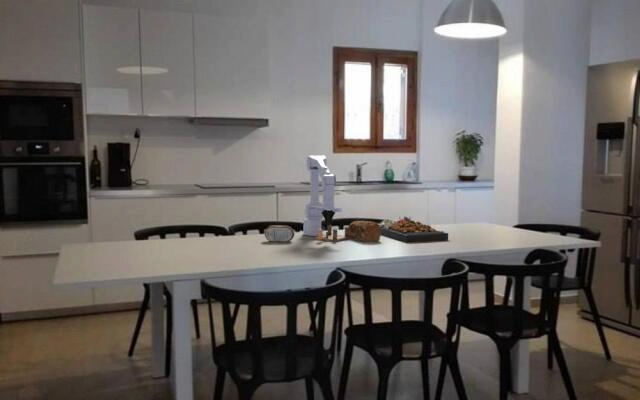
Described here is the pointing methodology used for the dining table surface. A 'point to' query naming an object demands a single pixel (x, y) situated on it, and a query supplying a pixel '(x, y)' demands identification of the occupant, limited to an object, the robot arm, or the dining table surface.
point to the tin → (279, 233)
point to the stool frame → (335, 235)
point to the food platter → (410, 231)
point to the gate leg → (321, 234)
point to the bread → (364, 231)
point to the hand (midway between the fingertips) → (328, 225)
